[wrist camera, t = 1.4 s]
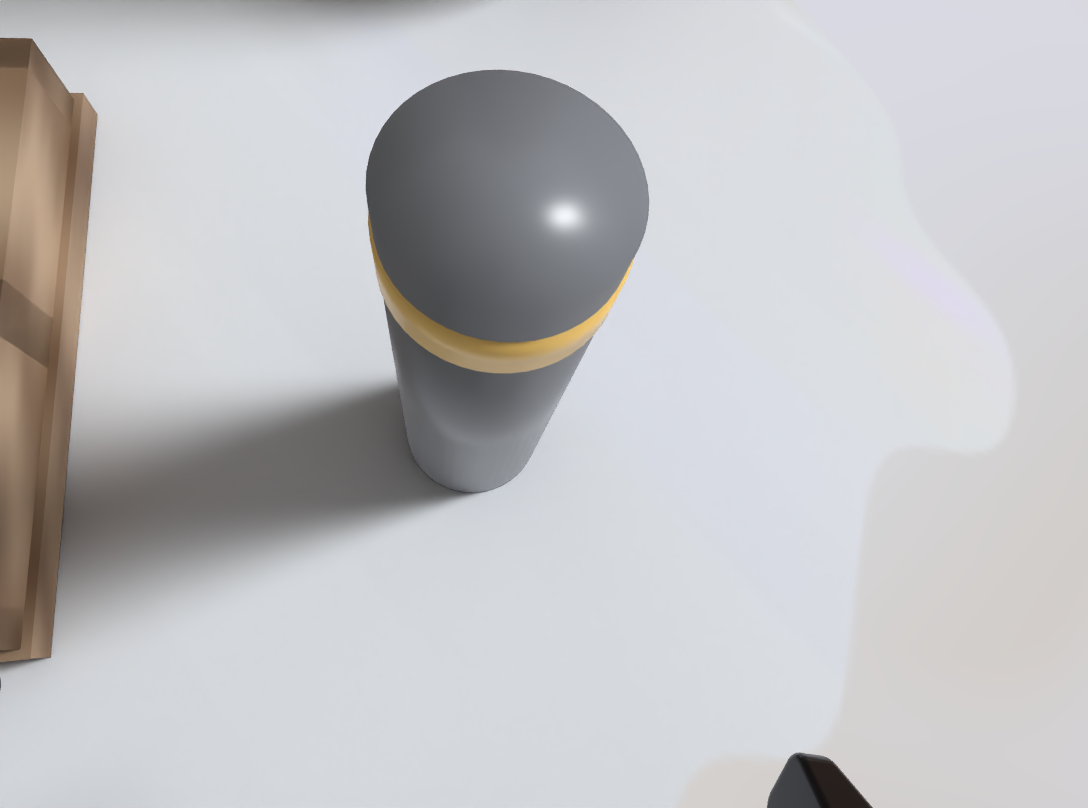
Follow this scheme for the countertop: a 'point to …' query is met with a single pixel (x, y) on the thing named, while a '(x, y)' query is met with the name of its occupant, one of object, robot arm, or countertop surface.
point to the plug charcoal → (497, 259)
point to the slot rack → (37, 329)
